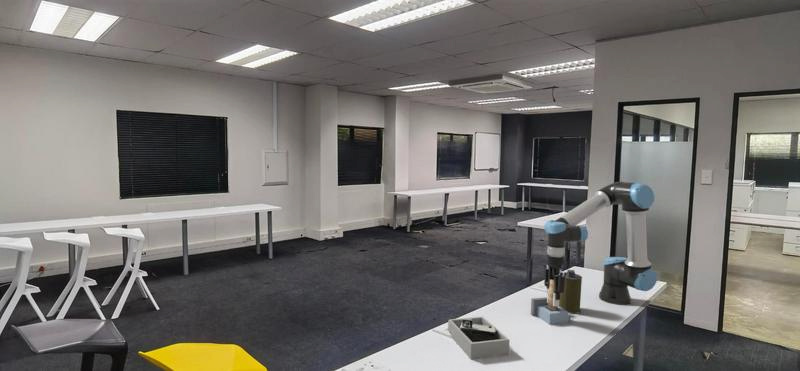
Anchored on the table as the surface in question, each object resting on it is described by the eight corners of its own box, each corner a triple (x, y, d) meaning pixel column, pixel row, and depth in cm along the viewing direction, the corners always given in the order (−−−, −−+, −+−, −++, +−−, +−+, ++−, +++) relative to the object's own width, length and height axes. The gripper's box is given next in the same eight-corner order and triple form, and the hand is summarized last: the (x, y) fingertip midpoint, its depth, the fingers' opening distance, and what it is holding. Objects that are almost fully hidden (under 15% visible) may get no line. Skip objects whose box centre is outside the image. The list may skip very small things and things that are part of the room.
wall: (555, 312, 203) (556, 296, 202) (558, 313, 201) (559, 297, 201) (530, 314, 200) (531, 298, 199) (533, 316, 198) (533, 300, 197)
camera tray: (482, 329, 181) (482, 316, 181) (508, 354, 159) (509, 339, 159) (447, 333, 177) (448, 319, 177) (470, 359, 155) (471, 343, 154)
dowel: (553, 309, 197) (555, 278, 195) (558, 312, 193) (560, 281, 192) (546, 310, 196) (548, 279, 194) (551, 313, 192) (553, 281, 191)
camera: (497, 342, 169) (498, 318, 168) (495, 350, 162) (496, 325, 161) (460, 336, 174) (461, 313, 173) (457, 343, 167) (458, 319, 166)
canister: (582, 314, 201) (584, 274, 199) (559, 312, 203) (561, 272, 201) (577, 306, 212) (579, 268, 210) (556, 304, 214) (558, 266, 212)
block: (554, 314, 201) (555, 304, 200) (568, 322, 191) (568, 312, 191) (536, 316, 198) (537, 305, 198) (549, 324, 188) (549, 313, 188)
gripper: (537, 251, 199) (535, 298, 201) (560, 260, 183) (557, 311, 185) (551, 250, 201) (548, 297, 203) (574, 259, 185) (571, 310, 187)
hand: (552, 304), depth 194 cm, fingers closed on dowel, 4 cm apart
